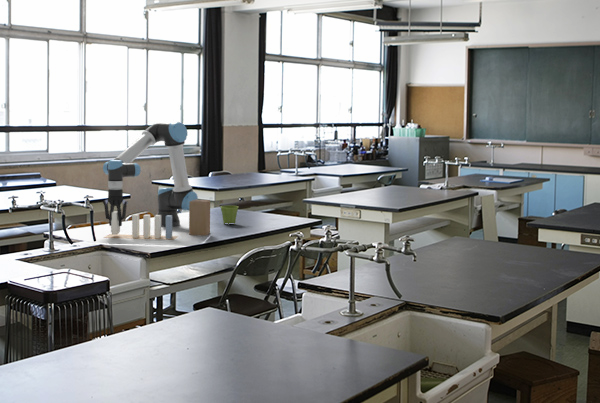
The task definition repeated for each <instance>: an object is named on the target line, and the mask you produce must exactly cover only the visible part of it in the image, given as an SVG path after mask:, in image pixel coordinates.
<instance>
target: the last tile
mask: <svg viewBox="0 0 600 403" xmlns="http://www.w3.org/2000/svg"><path fill="white" fill-rule="evenodd" d="M165 236H166V239H171V238H172V236H173V226H172V215H167V216H166V226H165Z"/></svg>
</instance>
